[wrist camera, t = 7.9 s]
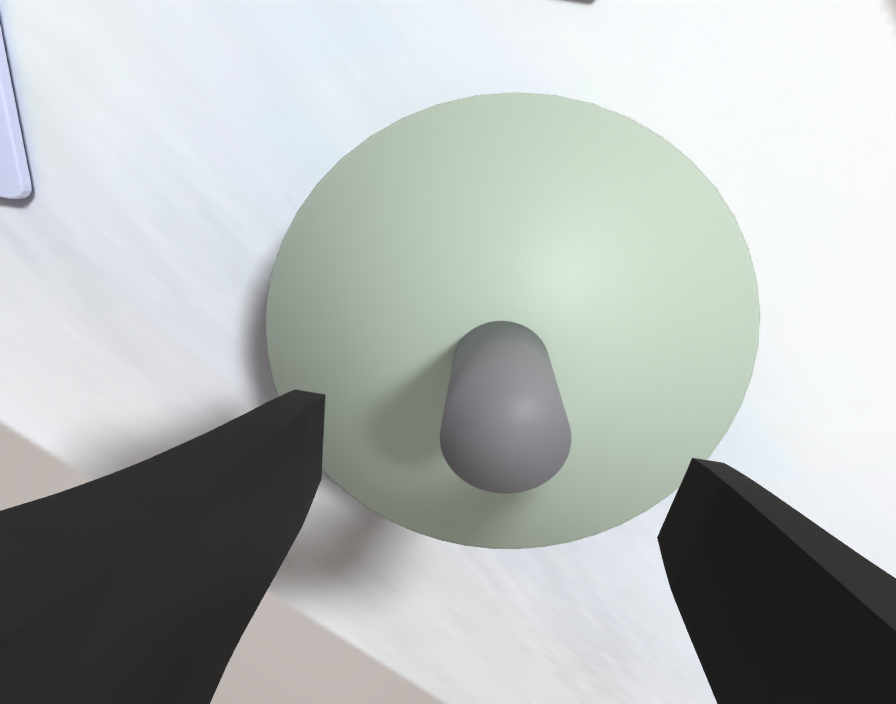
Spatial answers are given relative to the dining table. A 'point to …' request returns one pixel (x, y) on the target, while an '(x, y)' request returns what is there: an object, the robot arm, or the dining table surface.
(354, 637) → the dining table surface
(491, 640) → the dining table surface
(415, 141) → the lid
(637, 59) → the dining table surface
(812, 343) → the dining table surface
